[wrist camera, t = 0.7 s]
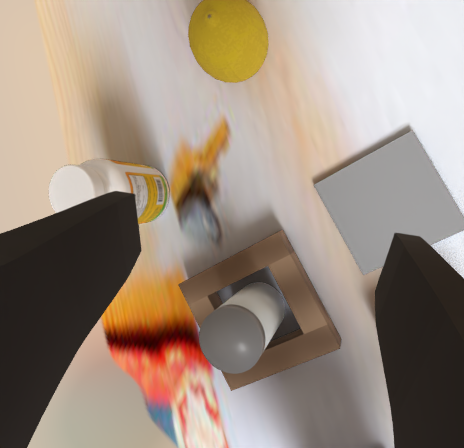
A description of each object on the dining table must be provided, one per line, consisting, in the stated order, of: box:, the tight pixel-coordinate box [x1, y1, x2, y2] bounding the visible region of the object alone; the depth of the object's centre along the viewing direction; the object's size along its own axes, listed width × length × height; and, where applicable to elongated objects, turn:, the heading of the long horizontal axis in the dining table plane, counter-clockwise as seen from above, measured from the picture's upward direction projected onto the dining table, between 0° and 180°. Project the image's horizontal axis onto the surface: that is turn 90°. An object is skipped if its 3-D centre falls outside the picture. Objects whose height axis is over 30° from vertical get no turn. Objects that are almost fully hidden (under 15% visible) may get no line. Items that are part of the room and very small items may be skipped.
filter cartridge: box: [199, 282, 285, 374], centre depth 28 cm, size 4×4×8 cm
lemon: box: [188, 0, 268, 83], centre depth 27 cm, size 6×6×8 cm
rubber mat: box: [314, 130, 464, 275], centre depth 28 cm, size 8×8×1 cm
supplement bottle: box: [49, 159, 169, 224], centre depth 30 cm, size 5×5×10 cm
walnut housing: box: [178, 230, 341, 391], centre depth 31 cm, size 10×10×2 cm
